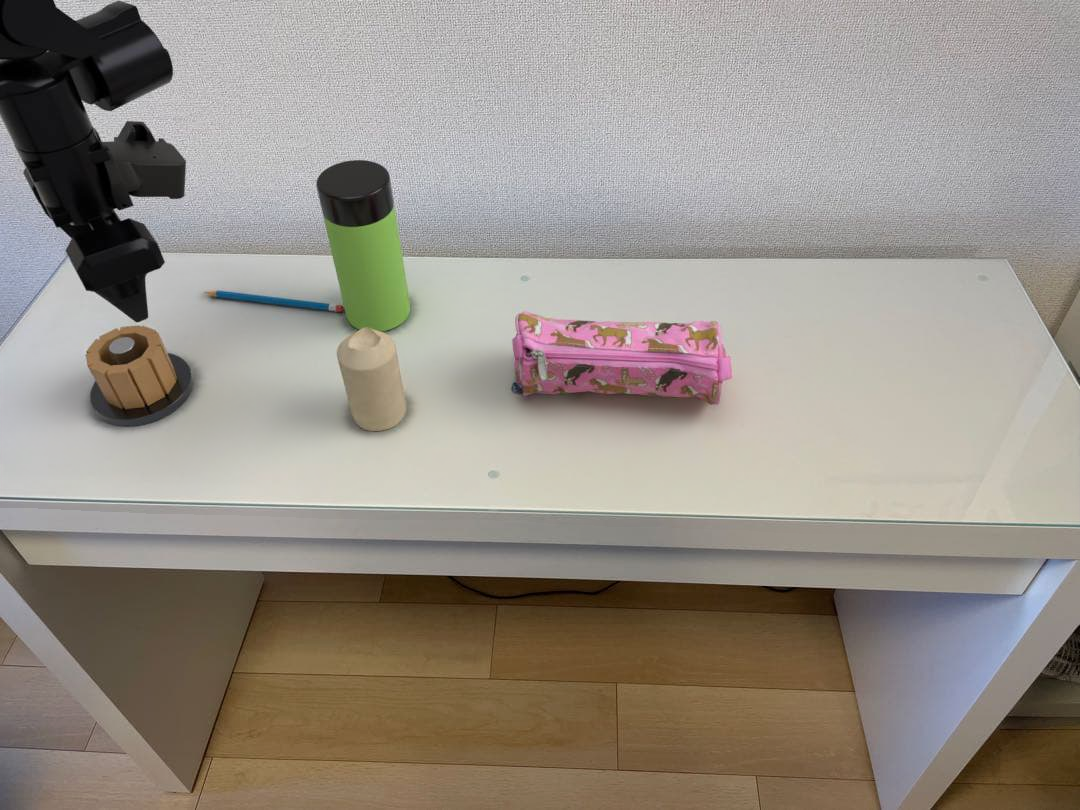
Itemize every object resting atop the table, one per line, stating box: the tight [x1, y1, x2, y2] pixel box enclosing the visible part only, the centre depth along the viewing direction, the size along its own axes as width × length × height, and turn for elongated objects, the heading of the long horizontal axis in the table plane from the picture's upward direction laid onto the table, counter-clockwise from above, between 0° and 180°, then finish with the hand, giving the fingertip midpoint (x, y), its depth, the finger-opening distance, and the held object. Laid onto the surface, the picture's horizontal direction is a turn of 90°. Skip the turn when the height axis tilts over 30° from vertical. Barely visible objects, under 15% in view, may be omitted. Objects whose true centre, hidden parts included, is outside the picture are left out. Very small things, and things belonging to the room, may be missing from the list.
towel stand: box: [89, 337, 195, 427], centre depth 87 cm, size 10×10×6 cm
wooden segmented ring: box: [85, 324, 177, 409], centre depth 86 cm, size 7×7×5 cm
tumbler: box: [315, 159, 411, 332], centre depth 91 cm, size 8×8×17 cm
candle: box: [336, 327, 407, 432], centre depth 83 cm, size 6×6×10 cm
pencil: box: [203, 289, 345, 313], centre depth 98 cm, size 1×17×1 cm, turn 79°
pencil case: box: [510, 311, 733, 406], centre depth 85 cm, size 21×9×9 cm, turn 85°
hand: (126, 293), depth 78 cm, fingers open, 9 cm apart
